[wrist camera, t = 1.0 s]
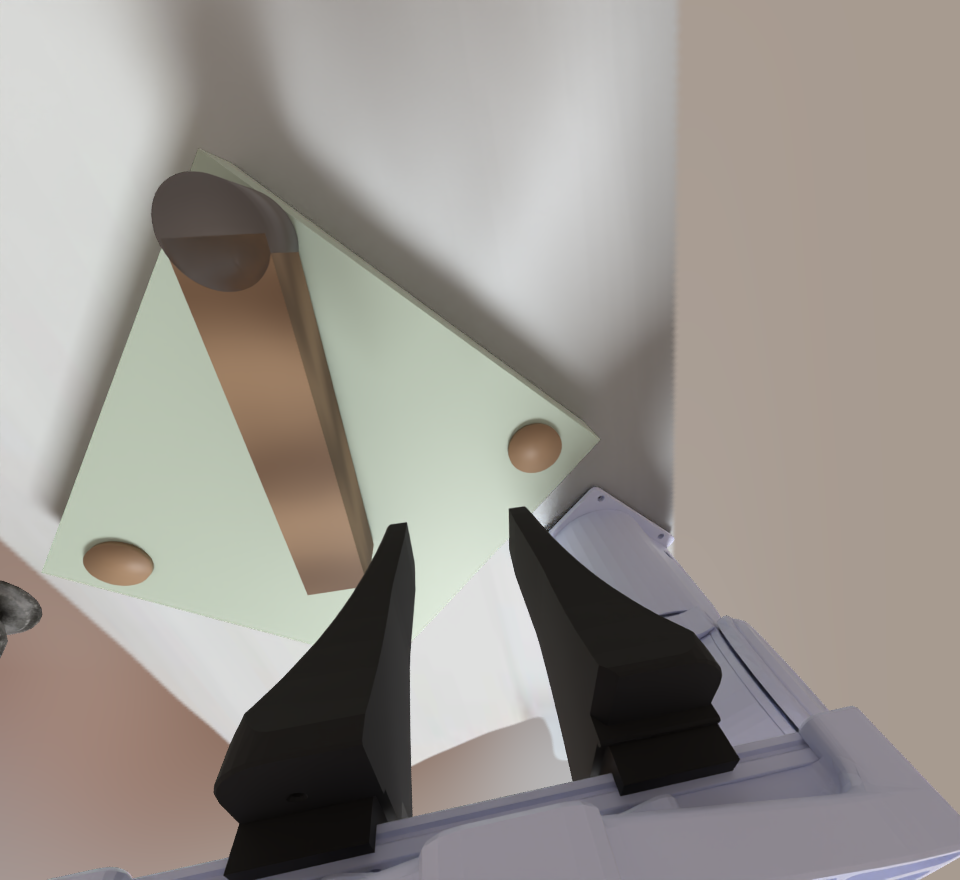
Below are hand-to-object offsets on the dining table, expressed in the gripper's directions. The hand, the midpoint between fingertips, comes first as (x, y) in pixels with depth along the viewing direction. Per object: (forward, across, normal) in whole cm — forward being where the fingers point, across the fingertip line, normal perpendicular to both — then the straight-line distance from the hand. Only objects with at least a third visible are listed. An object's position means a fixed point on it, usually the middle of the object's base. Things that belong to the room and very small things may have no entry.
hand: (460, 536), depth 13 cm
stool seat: (+9, +7, +3) cm, 12 cm away
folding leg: (+7, +6, -3) cm, 10 cm away
